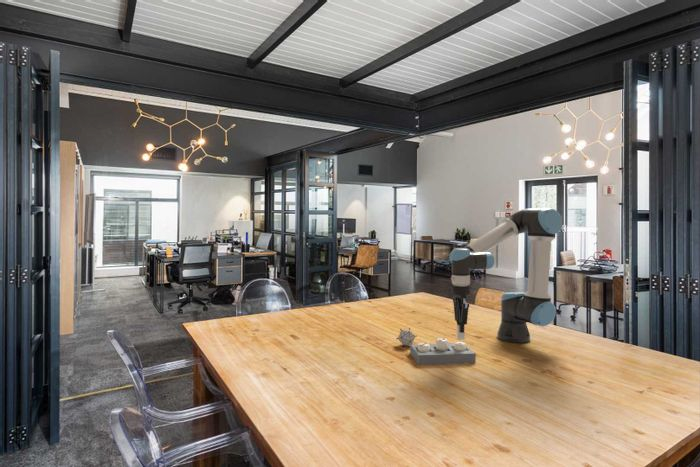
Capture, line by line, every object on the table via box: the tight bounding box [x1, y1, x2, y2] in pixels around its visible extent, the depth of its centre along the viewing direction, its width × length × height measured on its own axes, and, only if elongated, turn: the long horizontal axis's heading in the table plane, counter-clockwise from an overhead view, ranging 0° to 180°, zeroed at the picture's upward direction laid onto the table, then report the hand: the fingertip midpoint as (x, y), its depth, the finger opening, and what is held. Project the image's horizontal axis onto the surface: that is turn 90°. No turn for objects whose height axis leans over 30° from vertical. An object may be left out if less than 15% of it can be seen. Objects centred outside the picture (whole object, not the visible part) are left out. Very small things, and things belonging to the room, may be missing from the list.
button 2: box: [435, 337, 449, 351], centre depth 171 cm, size 5×5×5 cm
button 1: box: [453, 341, 467, 351], centre depth 172 cm, size 5×5×5 cm
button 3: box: [417, 342, 430, 352], centre depth 171 cm, size 5×5×5 cm
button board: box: [409, 342, 477, 366], centre depth 172 cm, size 24×14×4 cm, turn 96°
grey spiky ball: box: [396, 327, 418, 348], centre depth 188 cm, size 9×8×10 cm
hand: (460, 339), depth 172 cm, fingers closed
